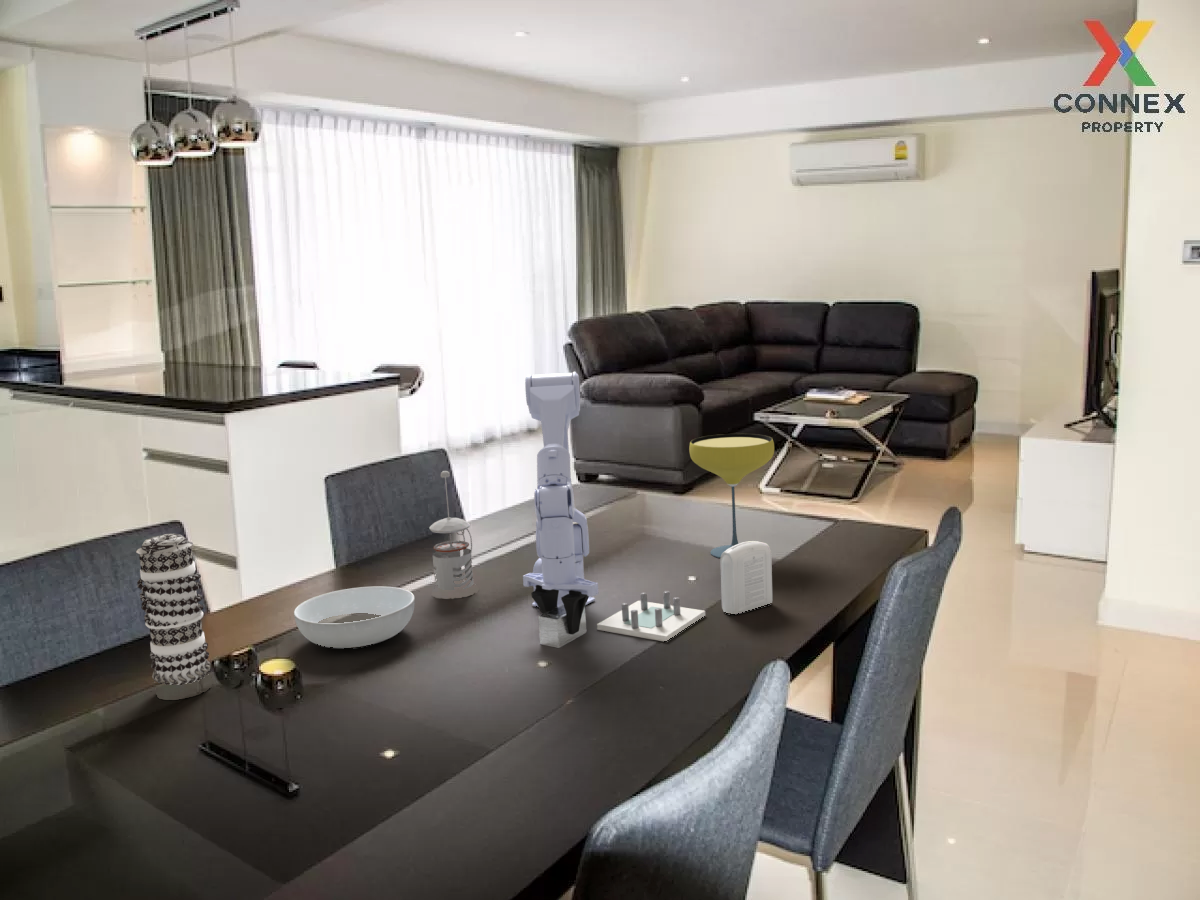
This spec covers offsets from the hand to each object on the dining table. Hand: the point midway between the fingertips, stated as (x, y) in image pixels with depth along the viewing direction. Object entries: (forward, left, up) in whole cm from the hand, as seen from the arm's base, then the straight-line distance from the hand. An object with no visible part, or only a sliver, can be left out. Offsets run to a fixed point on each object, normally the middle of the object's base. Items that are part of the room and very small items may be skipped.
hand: (563, 630), depth 169 cm
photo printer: (+22, +27, -2) cm, 35 cm away
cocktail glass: (+4, +59, -2) cm, 59 cm away
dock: (+10, +13, -1) cm, 16 cm away
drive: (0, 0, -1) cm, 1 cm away
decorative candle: (-42, -45, -2) cm, 62 cm away
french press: (-36, +13, -2) cm, 38 cm away
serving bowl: (-34, -16, -2) cm, 37 cm away
